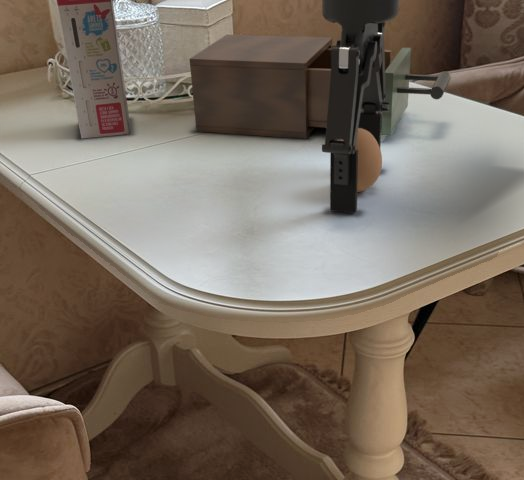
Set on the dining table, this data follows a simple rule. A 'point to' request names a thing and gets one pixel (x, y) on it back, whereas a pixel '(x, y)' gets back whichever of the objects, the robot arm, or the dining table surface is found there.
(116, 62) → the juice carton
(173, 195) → the dining table surface
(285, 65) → the cabinet
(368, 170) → the egg
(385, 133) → the drawer
